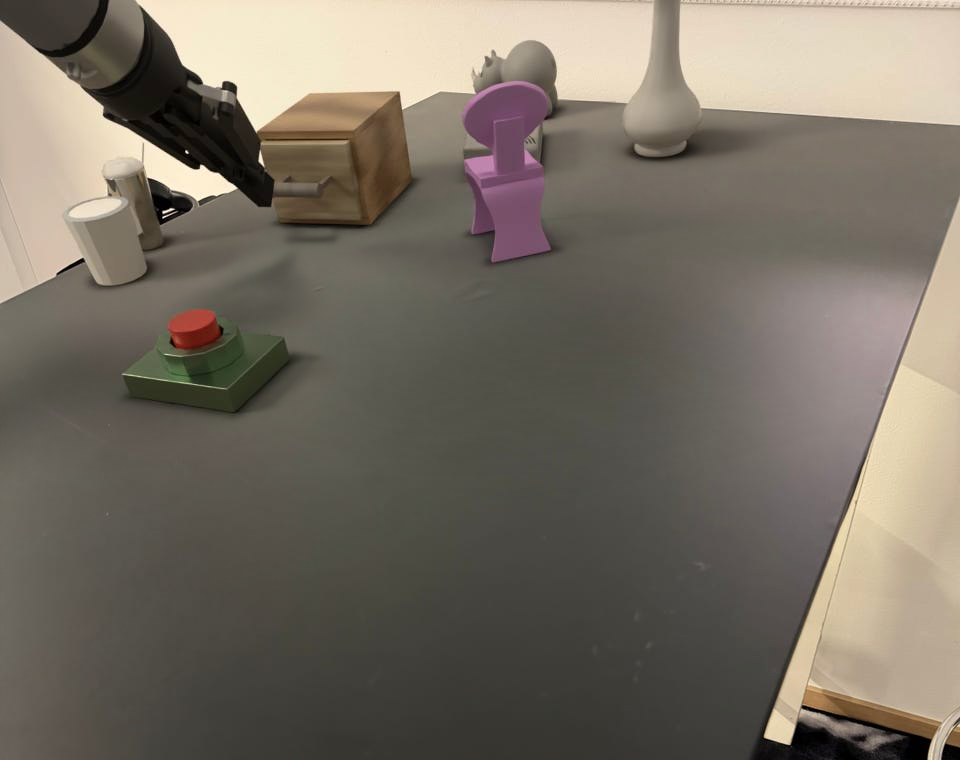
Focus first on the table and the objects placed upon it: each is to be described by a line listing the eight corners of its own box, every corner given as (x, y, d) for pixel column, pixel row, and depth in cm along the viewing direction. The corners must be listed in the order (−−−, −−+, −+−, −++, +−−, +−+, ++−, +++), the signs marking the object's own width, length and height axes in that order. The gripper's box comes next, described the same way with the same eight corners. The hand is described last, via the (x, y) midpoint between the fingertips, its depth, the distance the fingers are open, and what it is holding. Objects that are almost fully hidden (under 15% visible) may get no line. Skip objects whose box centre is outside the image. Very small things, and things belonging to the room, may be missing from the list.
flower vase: (585, 135, 112) (582, -120, 94) (733, 129, 108) (759, -139, 90) (571, 172, 103) (565, -102, 85) (732, 167, 99) (761, -121, 81)
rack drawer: (345, 235, 94) (329, 157, 89) (260, 233, 97) (240, 157, 91) (400, 179, 105) (388, 106, 99) (322, 178, 108) (307, 107, 102)
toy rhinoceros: (483, 106, 125) (477, 36, 119) (564, 105, 122) (562, 32, 116) (467, 122, 121) (460, 50, 115) (550, 121, 117) (548, 47, 111)
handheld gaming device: (465, 181, 105) (462, 146, 102) (475, 140, 115) (473, 107, 112) (539, 177, 104) (538, 142, 101) (543, 136, 114) (542, 103, 111)
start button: (165, 348, 74) (157, 329, 72) (193, 326, 76) (186, 307, 75) (203, 353, 72) (196, 333, 71) (230, 330, 75) (224, 311, 74)
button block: (130, 396, 76) (112, 354, 73) (191, 346, 81) (176, 305, 79) (234, 412, 72) (219, 368, 69) (290, 359, 78) (278, 316, 75)
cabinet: (370, 224, 98) (353, 130, 91) (279, 222, 101) (256, 131, 94) (412, 180, 107) (399, 91, 100) (327, 179, 110) (309, 93, 103)
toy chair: (534, 218, 95) (526, 57, 84) (560, 248, 89) (555, 78, 78) (461, 233, 94) (443, 72, 83) (482, 265, 88) (466, 95, 77)
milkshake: (181, 242, 100) (149, 146, 93) (136, 256, 98) (100, 160, 91) (169, 231, 103) (137, 137, 96) (125, 244, 101) (89, 150, 94)
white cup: (165, 263, 96) (141, 196, 91) (124, 291, 92) (96, 222, 87) (118, 258, 98) (92, 192, 93) (76, 284, 94) (47, 217, 89)
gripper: (31, 96, 68) (206, 229, 90) (174, 92, 64) (319, 232, 87) (42, -3, 67) (215, 156, 90) (187, -12, 64) (329, 155, 86)
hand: (266, 193), depth 88 cm, fingers closed
